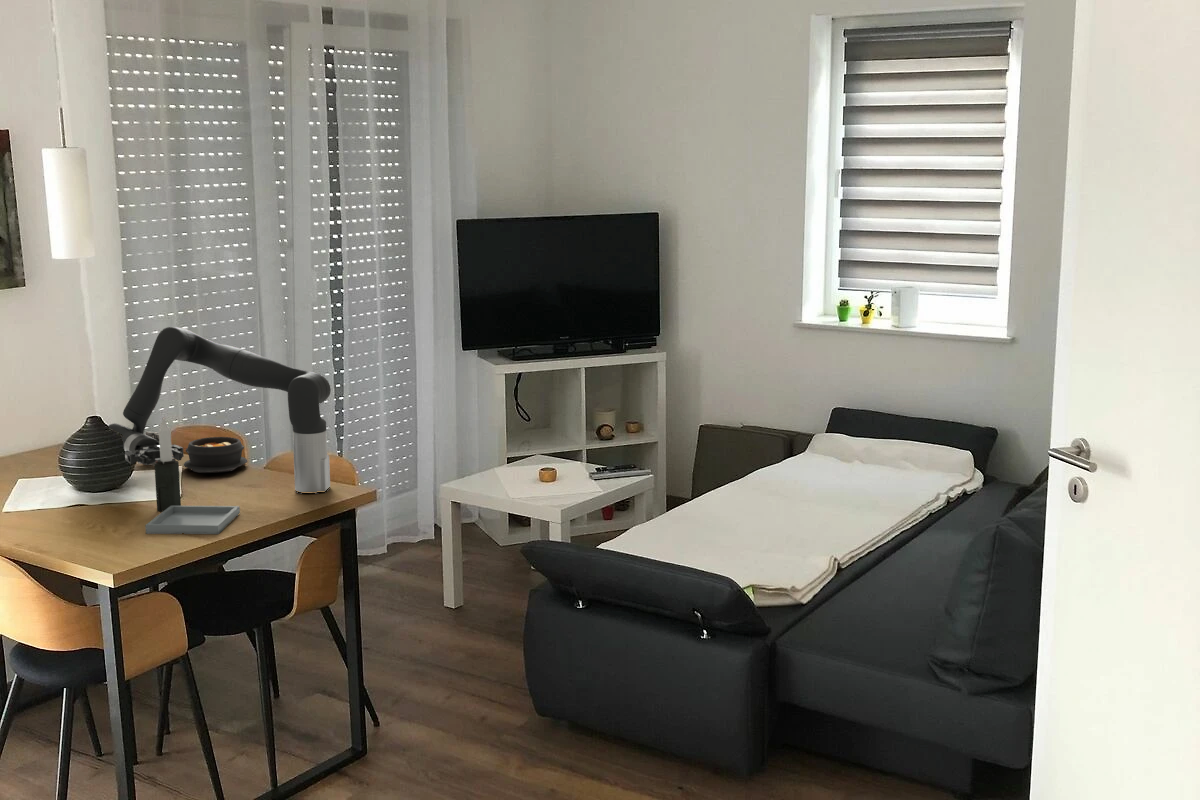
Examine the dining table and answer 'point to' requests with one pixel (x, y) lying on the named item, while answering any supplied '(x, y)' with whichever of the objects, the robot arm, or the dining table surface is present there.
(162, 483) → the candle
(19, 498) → the dining table surface
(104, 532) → the dining table surface
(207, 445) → the casserole
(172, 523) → the tray
